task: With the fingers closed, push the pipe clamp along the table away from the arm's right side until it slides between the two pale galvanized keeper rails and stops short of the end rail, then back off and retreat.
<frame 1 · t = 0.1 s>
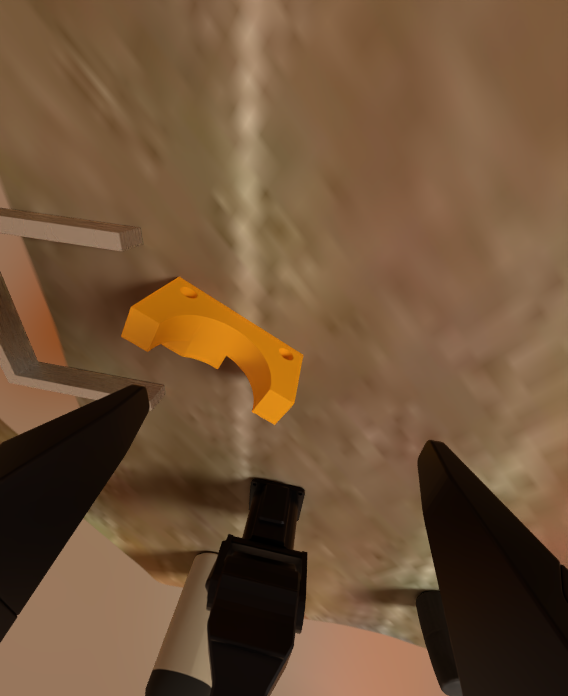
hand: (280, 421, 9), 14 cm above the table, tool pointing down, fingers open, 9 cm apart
mallet: (519, 581, 38), on the table
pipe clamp: (233, 333, 25), on the table
keeper: (82, 312, 26), on the table
travel mug: (218, 561, 48), on the table
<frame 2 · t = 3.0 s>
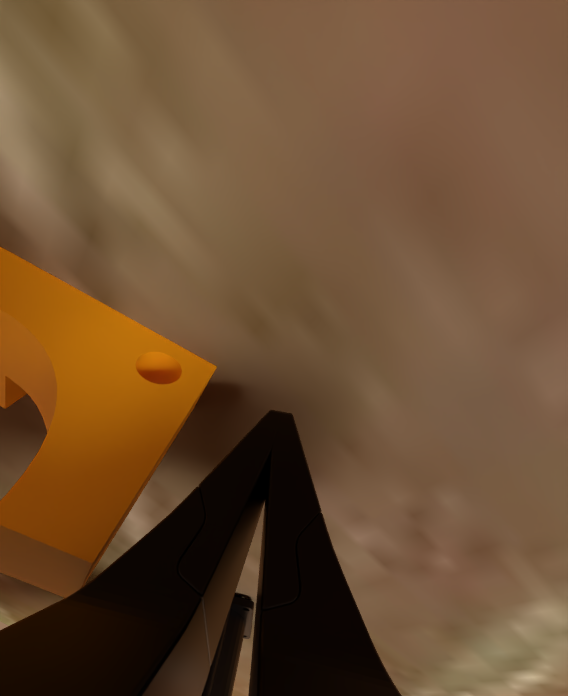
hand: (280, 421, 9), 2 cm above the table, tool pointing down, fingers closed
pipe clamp: (60, 322, 11), on the table, touching gripper
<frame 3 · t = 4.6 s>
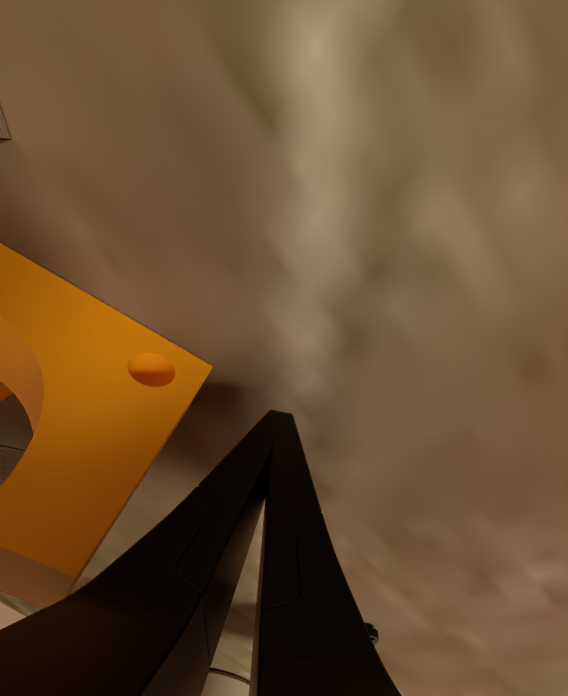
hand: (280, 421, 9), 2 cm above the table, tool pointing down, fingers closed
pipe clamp: (50, 319, 11), on the table, touching gripper
travel mug: (225, 677, 34), on the table
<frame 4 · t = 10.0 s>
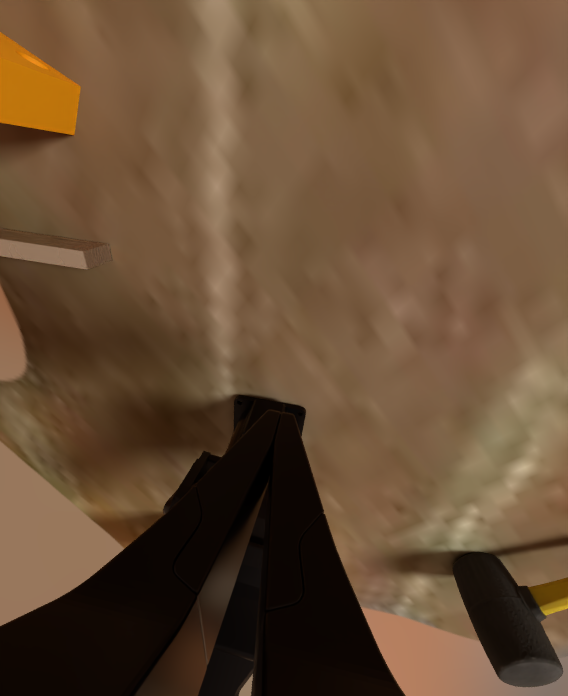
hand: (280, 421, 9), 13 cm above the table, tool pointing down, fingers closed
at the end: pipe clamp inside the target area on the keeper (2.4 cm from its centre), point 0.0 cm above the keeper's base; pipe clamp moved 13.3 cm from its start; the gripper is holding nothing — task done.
